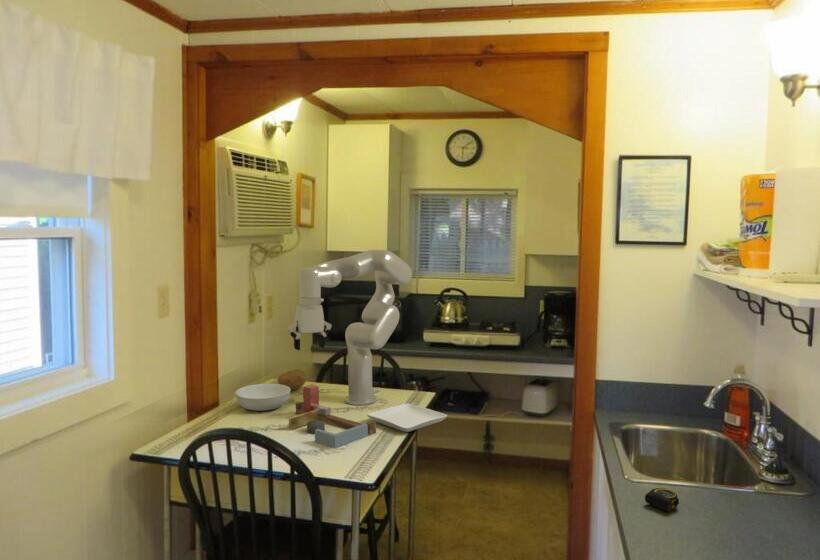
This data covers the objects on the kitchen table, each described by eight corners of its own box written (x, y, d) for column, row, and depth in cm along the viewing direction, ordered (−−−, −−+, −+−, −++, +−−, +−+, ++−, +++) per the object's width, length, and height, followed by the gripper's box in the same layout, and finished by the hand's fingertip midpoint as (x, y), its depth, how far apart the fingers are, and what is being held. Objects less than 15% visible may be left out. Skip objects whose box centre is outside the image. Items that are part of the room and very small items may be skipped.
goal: (347, 430, 219) (347, 418, 219) (367, 436, 213) (367, 424, 213) (314, 441, 207) (314, 429, 207) (335, 448, 201) (335, 436, 201)
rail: (301, 411, 240) (301, 401, 240) (375, 433, 216) (375, 421, 216) (295, 413, 238) (295, 403, 237) (369, 435, 214) (369, 423, 213)
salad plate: (449, 423, 228) (449, 413, 227) (406, 437, 213) (406, 427, 212) (407, 410, 243) (407, 402, 242) (365, 423, 228) (365, 413, 228)
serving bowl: (224, 412, 240) (223, 394, 240) (257, 398, 260) (256, 381, 259) (270, 418, 233) (270, 400, 232) (301, 403, 252) (300, 386, 251)
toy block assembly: (311, 413, 237) (311, 384, 236) (332, 418, 230) (331, 389, 229) (275, 424, 224) (274, 394, 223) (295, 430, 217) (295, 399, 216)
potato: (271, 391, 269) (271, 372, 269) (295, 384, 281) (295, 366, 280) (287, 395, 264) (287, 376, 263) (311, 387, 275) (311, 369, 274)
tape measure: (643, 505, 161) (643, 491, 161) (659, 498, 165) (660, 484, 165) (667, 515, 155) (667, 501, 155) (683, 508, 159) (684, 494, 159)
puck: (316, 427, 222) (316, 419, 222) (328, 431, 219) (328, 422, 218) (303, 431, 218) (303, 423, 218) (315, 435, 214) (315, 427, 214)
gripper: (326, 300, 239) (326, 345, 240) (283, 301, 229) (283, 349, 230) (336, 301, 233) (335, 348, 234) (292, 304, 223) (291, 352, 224)
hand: (309, 348), depth 232 cm, fingers open, 9 cm apart
